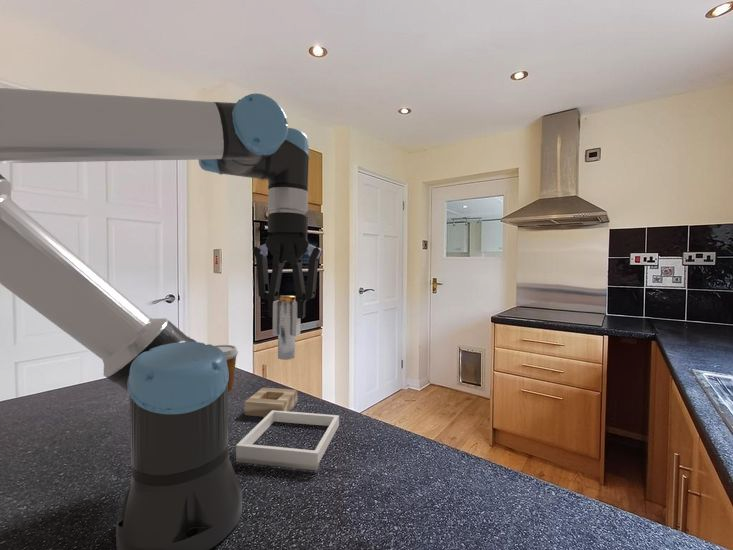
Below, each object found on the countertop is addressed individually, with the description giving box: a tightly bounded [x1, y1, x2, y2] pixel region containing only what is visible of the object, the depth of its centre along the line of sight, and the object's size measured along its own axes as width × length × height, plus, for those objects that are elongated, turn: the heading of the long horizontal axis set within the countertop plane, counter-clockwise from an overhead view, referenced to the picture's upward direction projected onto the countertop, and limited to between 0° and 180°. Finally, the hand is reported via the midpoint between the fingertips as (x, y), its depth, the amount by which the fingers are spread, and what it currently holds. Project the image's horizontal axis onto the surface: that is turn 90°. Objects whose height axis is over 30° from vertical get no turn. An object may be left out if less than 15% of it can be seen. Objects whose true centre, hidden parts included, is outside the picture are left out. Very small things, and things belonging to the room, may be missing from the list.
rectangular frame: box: [235, 410, 340, 471], centre depth 69 cm, size 15×15×3 cm
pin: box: [277, 295, 296, 361], centre depth 70 cm, size 3×3×12 cm
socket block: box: [244, 387, 298, 418], centre depth 84 cm, size 9×9×4 cm
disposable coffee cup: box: [215, 344, 239, 392], centre depth 96 cm, size 10×10×12 cm
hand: (286, 334), depth 70 cm, fingers closed on pin, 3 cm apart
